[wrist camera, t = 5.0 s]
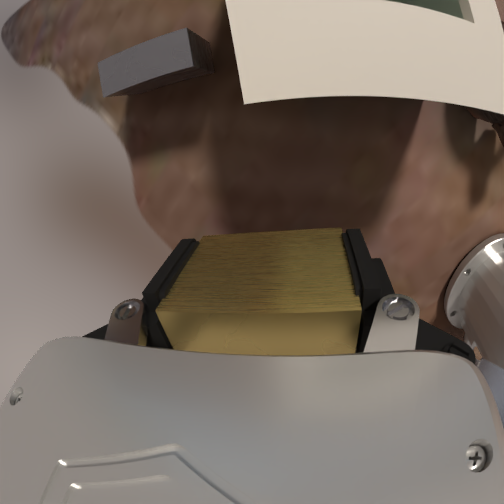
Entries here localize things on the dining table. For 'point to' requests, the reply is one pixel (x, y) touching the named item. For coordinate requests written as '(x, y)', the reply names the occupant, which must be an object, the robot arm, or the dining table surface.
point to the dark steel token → (156, 64)
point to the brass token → (265, 296)
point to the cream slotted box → (370, 50)
